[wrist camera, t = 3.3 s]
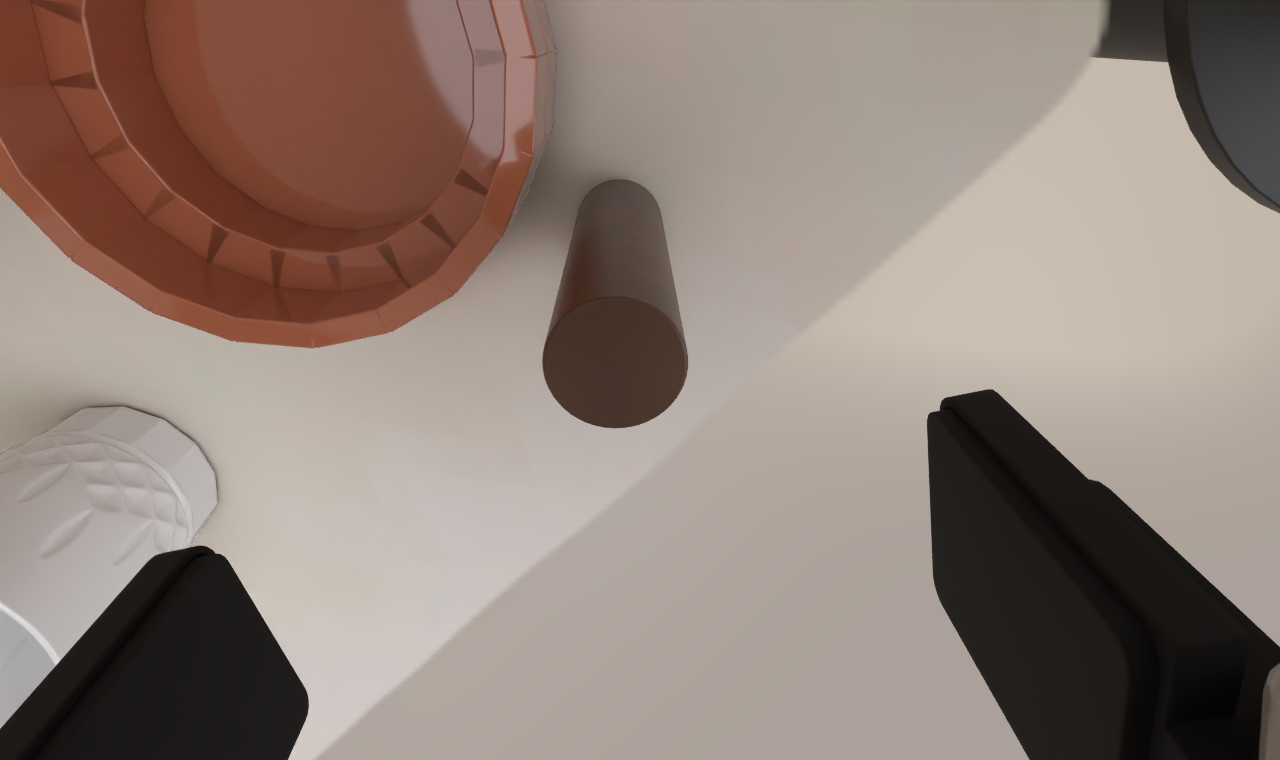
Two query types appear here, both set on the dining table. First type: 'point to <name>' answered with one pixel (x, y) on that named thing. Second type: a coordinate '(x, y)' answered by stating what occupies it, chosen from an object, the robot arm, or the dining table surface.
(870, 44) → the dining table surface
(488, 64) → the bowl
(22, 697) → the white cup
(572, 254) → the dark brown cylinder
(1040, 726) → the robot arm
